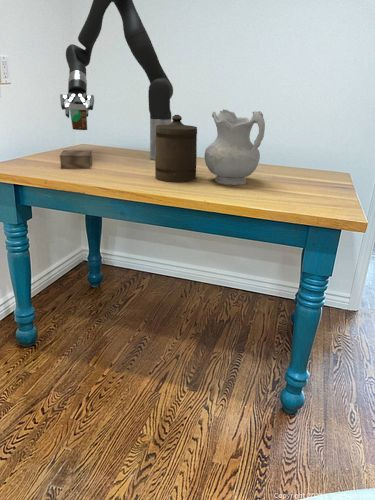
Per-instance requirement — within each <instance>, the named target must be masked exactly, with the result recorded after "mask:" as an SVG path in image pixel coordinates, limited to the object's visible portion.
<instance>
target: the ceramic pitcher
mask: <svg viewBox="0 0 375 500" xmlns="http://www.w3.org/2000/svg"><path fill="white" fill-rule="evenodd" d="M211 117H212V118H213V121H214V123H215V125H216V130H217V131H216V132H217V135H216V138H215V139H214V141H213V142H212V143H210V144H209V145H208V146H207V147H206V148H205V150H204V162H205V166H206V167H207V169H208V171H209V172H210V173H211V174H213V175H215V176H216V177H215V179H214V182H215V183H218V184H220V185H228V186H229V185H230V186H231V185H233V186H234V185H235V186H242V185H246V184H248V182H247V180H246V177H249V176H251V175H252V174H253V173H254V172H255V171H256V170H257V167H258V166H259V162H260V157H261V154H260V150H259V147H260V146H261V144H262V141H263V140H264V137H265V129H266V121H265V118H264V114H263V112H262V111H252V117H251V118H250V120H249V118H248V117H241V116H240V117H238V116H236V113H235V111H230V110H228V109H222V110H220V111H219V113H218V114H217V113H216V111H212V113H211ZM254 124H257V125H258V126H257V127H258V133H257V137H256V138H255V140H254V141H253V143H252V141H251V139H250V138H251V137H250V136H251V131H252V128H253V126H254Z"/></svg>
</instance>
